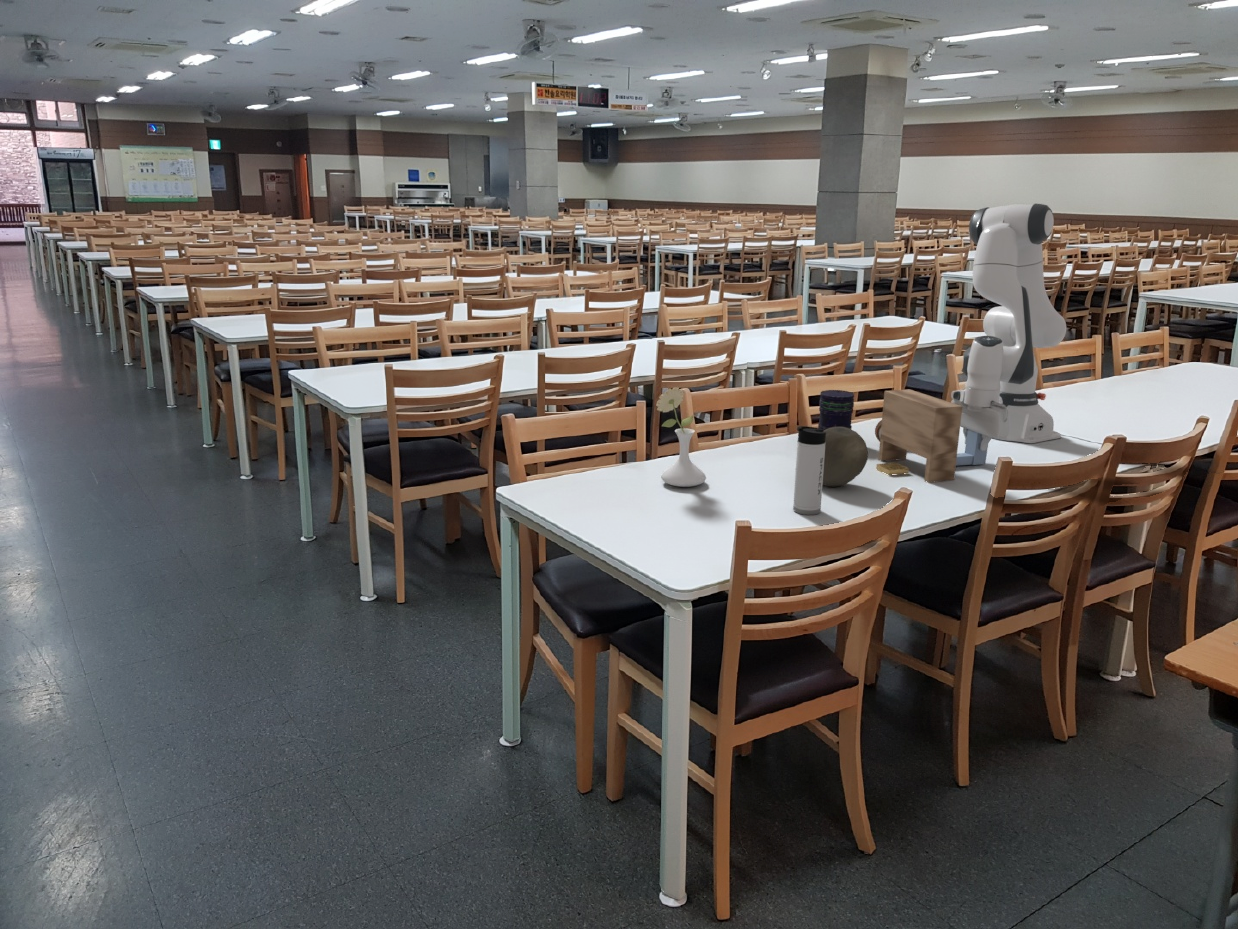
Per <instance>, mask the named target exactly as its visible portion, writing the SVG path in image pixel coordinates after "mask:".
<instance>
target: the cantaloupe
mask: <svg viewBox="0 0 1238 929" xmlns="http://www.w3.org/2000/svg"><path fill="white" fill-rule="evenodd" d="M824 432H826V438H825V442H826V443H825V457H824V471H823V484H822V486H826V487H830V488H831V487H840V486H844V485H846V484H848V483H850V482H852V481H853V480H855V479H856V477H858V476H859V475H860V474H861V473H862V472H863V470H864V468H865V466H866V464H867V462H868V460H869V448H868V447H867V444H866V440H864V438H863V437H862V436H861V435H860V434H859V433H858V432H856V431H854V429H849V428H846V427H832V428H828V429H826V430H824Z"/></svg>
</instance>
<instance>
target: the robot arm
mask: <svg viewBox="0 0 1238 929" xmlns="http://www.w3.org/2000/svg"><path fill="white" fill-rule="evenodd" d="M1054 219H1055V218H1054V214H1053V210H1052V209H1051V208H1050V207H1049V205H1047V204H1044V203H1034V204H1032V203H1031V204H1030V203H1016V204H1015V203H1014V204H1008V205H1000V206H993V207H983V208H980V209H977V210H976V211H975V212H974V213H973V214H972V215H971V217H970V220H969V223H968V224H969V225H968V233H969V238H970V240H971V241H972V242H973V244H974V245H975V246H976V248H975V253H974V258H973V265H972V267H973V268H972V285H973V288H974V290H975V291H976V293H977V294H979V295H980V296H981V297H982V298H985V299H986V300H987V301H991V302H993V303H995V304H998V305H1000V306H994V307H992V308H990V309H989V310H988V311H987V312H986V314H985V315H984V318H983V321H982V326H983V331H984V334H985V335H982V336H981V335H980V336H977V337H974V339H973V340H972V342H971V343H972V344H971V346H969V347H968V348H967V349H965V351H963V353H962V354H963V360H962V368H961V372H962V373H963V375H964V376H966V377H967V380H966V382H965V385H964V388H963V389H959V390H952V391H951V393H950V397H951V401H950V402H951V403H954V404H957V405H960V406H962V415H961V424H960V428H963V430H962V432H963V436H964V438H965V439H964V444H965V445H966V439H967V432H968V429H969V430H971V431H974V432H977V433H980V434H982V438H983V440H982V442H981V443H979V444H978V449H979V450H982V451H984V450H987V451H988V449H987V444H988V445H989V443H990V442H991V440H992V439H994V440H1001V441H1008V442H1018V443H1024V444H1036V443H1040V442H1046V441H1051V440H1055V439H1056V440H1057V439H1060V438H1061V437H1062V434H1061V433H1060V432H1058V431H1056V430H1054V425H1055V424H1054V422H1055V421H1054V418H1053V416H1052V415H1051V414H1050V413H1049V412H1047V411H1046V409H1044V408H1043V407H1042V406H1041V405H1040V403H1039V400H1041V401H1045V399H1046V398H1047V394H1046V393H1043V392H1038V393H1037V392H1036V387H1037V379H1038V374H1039V372H1038V371H1039V370H1038V369H1039V367H1038V364H1037V362H1036V357H1035V352H1034V348H1036V349H1045V348H1046V349H1047V348H1048V349H1049V348H1054V347H1057V346H1059V345H1060V343H1062V341H1063V339H1064V338H1065V336H1066V333H1067V323H1066V320H1065V318H1064V316H1062V315H1061V314H1060V313H1059V312H1058V311H1057V310H1056V309H1055V307H1054V306H1053V305H1052V302H1051V300H1050V299H1049V296H1048V294H1047V291H1046V287H1045V278H1044V252H1043V242H1045V241H1047V240H1048V239H1049V238H1050V236H1051V234H1052V233H1053V232H1052V231H1053V230H1054V223H1055V221H1054Z"/></svg>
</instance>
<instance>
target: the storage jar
mask: <svg viewBox="0 0 1238 929" xmlns="http://www.w3.org/2000/svg"><path fill="white" fill-rule="evenodd" d="M854 398H855V393H854V392H851V391H847V390H840V389H839V390H838V389H827V390H821V391H820V397H819V403H818V404H819V408H818V411H819V422H818V424H817V426H818V427H817V428H819V429H822V430H823V431H824V430H826V429H828V428H832V427H846V428H849V429H851V430H853V429H852V428H853V427H852V417H853V413H854V405H855V402H854V400H855V399H854Z"/></svg>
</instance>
